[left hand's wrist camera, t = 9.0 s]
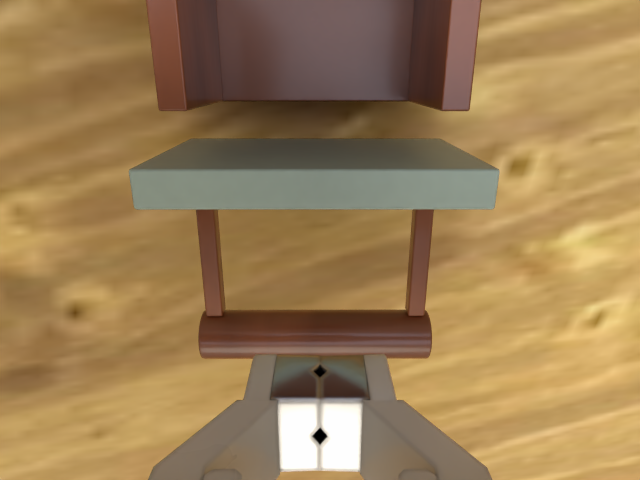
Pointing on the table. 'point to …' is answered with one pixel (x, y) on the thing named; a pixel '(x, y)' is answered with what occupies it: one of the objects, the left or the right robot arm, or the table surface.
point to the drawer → (314, 145)
